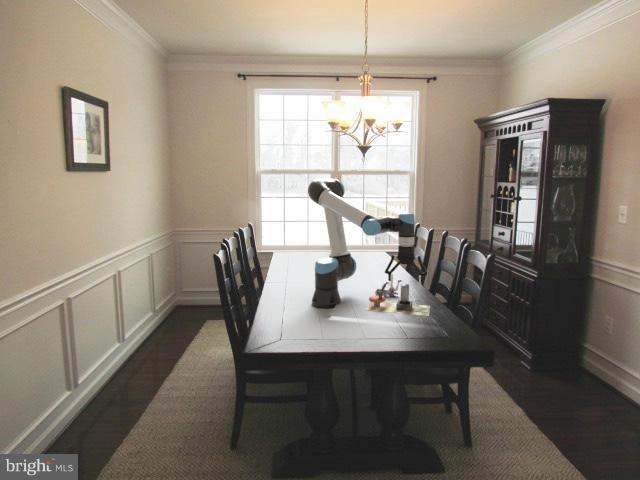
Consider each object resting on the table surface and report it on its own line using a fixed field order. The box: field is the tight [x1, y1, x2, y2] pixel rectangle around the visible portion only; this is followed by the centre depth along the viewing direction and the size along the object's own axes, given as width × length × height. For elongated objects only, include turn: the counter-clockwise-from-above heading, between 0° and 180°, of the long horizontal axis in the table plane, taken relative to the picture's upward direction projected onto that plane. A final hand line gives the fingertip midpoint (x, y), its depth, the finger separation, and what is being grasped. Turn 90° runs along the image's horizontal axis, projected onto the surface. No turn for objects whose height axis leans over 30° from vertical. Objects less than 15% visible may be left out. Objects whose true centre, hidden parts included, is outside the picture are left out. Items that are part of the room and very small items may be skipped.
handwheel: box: [368, 291, 386, 307], centre depth 225 cm, size 8×8×8 cm
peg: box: [400, 283, 410, 305], centre depth 221 cm, size 4×4×12 cm
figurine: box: [374, 279, 403, 297], centre depth 243 cm, size 12×9×15 cm
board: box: [365, 299, 431, 317], centre depth 223 cm, size 30×16×4 cm, turn 73°
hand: (405, 288), depth 220 cm, fingers open, 13 cm apart
